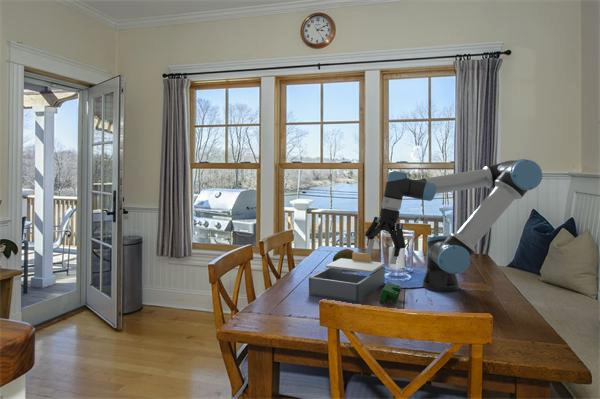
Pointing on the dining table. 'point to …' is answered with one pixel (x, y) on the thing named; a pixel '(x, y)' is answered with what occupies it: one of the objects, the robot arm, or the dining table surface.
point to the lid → (356, 263)
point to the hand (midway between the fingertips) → (380, 259)
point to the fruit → (343, 254)
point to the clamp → (390, 293)
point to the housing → (345, 284)
